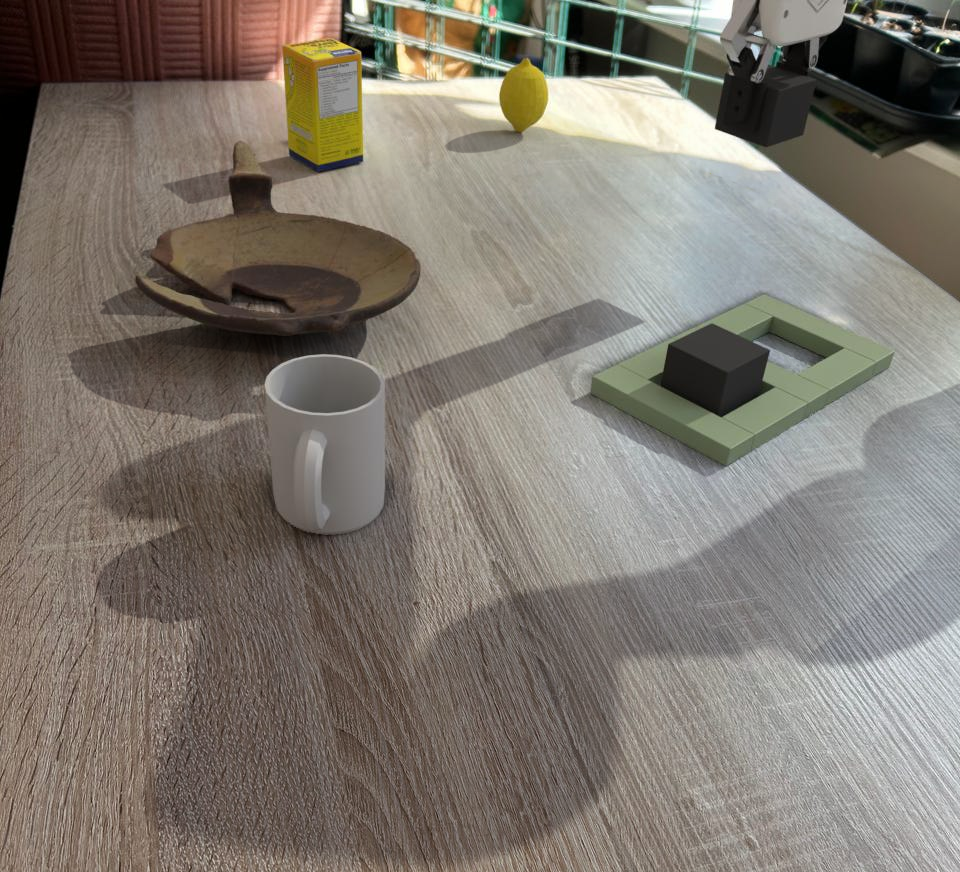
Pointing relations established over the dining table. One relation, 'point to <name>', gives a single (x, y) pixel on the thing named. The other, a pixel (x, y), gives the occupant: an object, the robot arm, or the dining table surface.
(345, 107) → the supplement box
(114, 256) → the dining table surface
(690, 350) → the black block
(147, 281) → the broken clay pan
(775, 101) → the black square block
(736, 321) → the base board
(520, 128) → the fruit
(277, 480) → the cup
